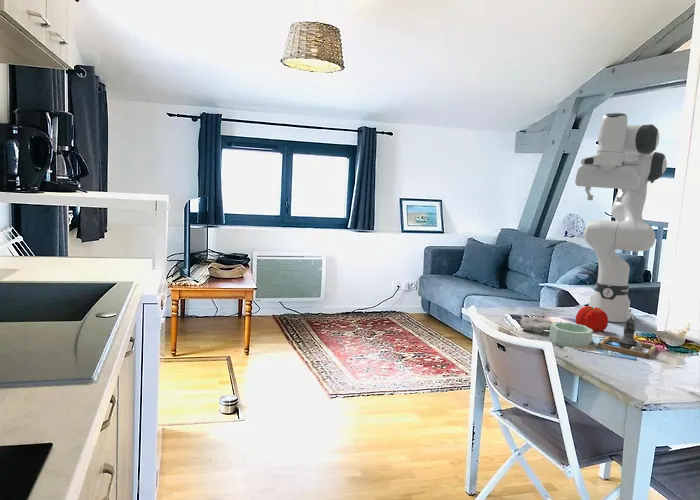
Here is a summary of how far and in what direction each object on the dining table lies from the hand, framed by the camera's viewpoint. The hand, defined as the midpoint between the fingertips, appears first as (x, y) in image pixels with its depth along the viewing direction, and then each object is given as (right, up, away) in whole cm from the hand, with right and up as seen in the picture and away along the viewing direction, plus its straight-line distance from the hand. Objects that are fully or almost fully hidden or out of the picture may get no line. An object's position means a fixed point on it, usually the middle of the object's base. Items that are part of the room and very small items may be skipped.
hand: (604, 201), depth 195 cm
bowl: (-15, -48, -7) cm, 51 cm away
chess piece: (+2, -50, -12) cm, 52 cm away
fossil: (-22, -46, +7) cm, 51 cm away
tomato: (-1, -47, +10) cm, 48 cm away
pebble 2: (+7, -48, -12) cm, 50 cm away
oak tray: (+2, -50, -12) cm, 51 cm away
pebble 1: (+3, -50, -18) cm, 53 cm away
